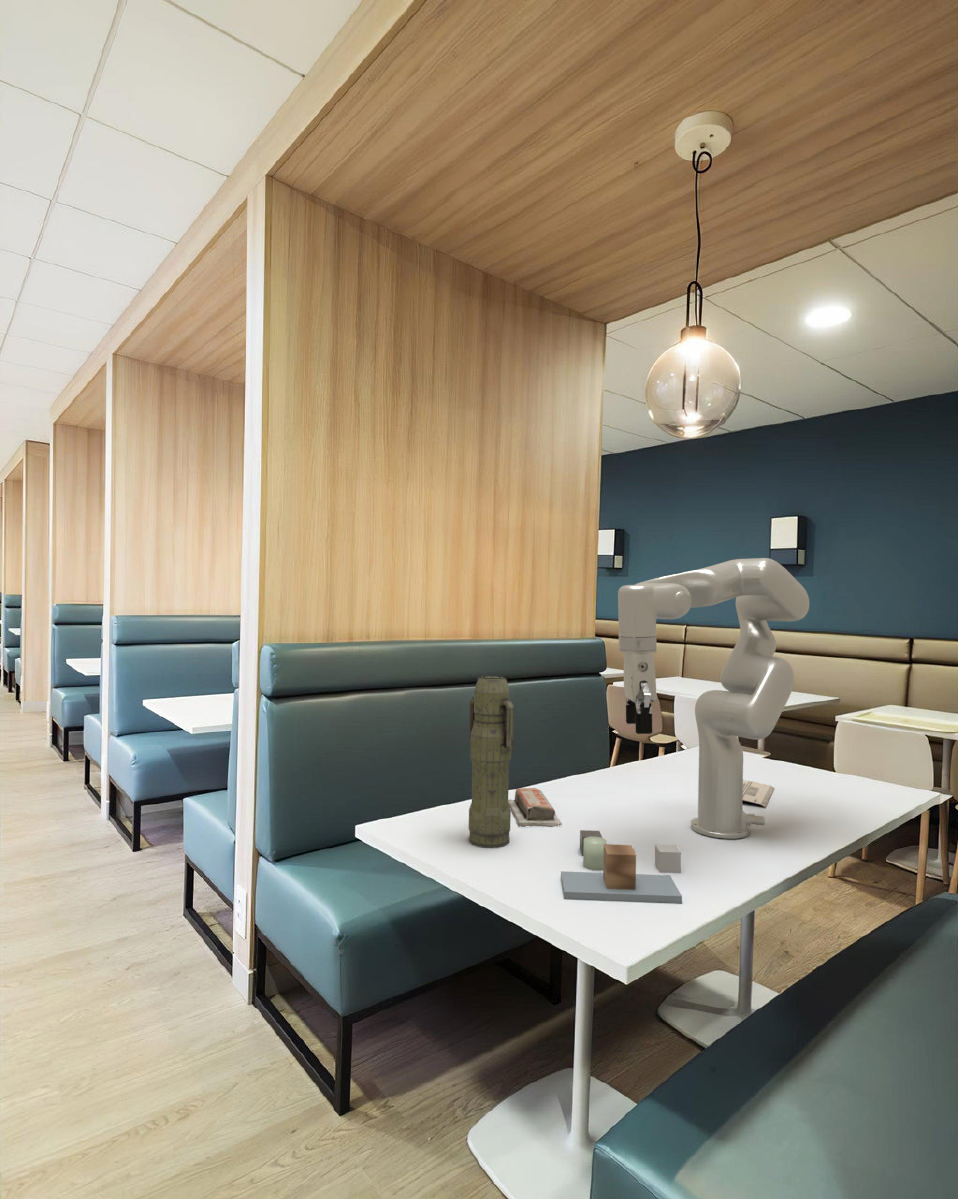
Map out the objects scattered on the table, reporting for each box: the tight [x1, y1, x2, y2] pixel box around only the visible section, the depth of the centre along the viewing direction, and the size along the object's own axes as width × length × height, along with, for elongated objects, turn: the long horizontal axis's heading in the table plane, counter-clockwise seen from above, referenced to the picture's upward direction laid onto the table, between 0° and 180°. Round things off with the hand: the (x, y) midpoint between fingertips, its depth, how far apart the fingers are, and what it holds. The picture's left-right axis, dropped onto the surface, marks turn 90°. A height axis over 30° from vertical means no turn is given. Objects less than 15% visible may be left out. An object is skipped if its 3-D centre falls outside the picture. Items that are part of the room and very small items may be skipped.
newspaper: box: [743, 779, 775, 809], centre depth 186 cm, size 23×12×2 cm, turn 151°
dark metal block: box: [579, 829, 603, 857], centre depth 141 cm, size 4×4×4 cm
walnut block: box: [602, 843, 637, 890], centre depth 123 cm, size 5×5×6 cm
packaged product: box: [508, 787, 563, 828], centre depth 165 cm, size 18×5×10 cm
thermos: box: [468, 675, 515, 849], centre depth 147 cm, size 9×12×35 cm
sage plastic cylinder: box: [582, 836, 608, 871], centre depth 134 cm, size 4×4×5 cm
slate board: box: [560, 870, 683, 904], centre depth 123 cm, size 20×9×1 cm, turn 87°
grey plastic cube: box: [654, 844, 682, 874], centre depth 133 cm, size 4×4×4 cm
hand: (638, 728), depth 141 cm, fingers open, 9 cm apart
